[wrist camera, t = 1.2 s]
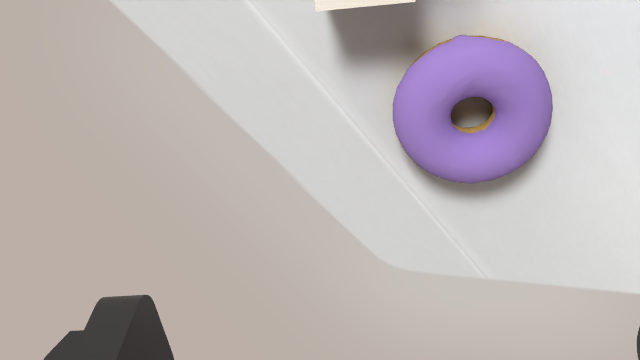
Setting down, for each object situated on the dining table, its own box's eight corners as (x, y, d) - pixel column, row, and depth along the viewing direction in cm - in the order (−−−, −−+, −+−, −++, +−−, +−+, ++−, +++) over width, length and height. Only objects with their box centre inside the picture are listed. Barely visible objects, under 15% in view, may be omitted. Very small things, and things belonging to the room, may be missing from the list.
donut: (355, 96, 39) (370, 123, 34) (470, -9, 37) (501, 6, 32) (448, 193, 43) (472, 228, 38) (556, 104, 41) (594, 130, 36)
